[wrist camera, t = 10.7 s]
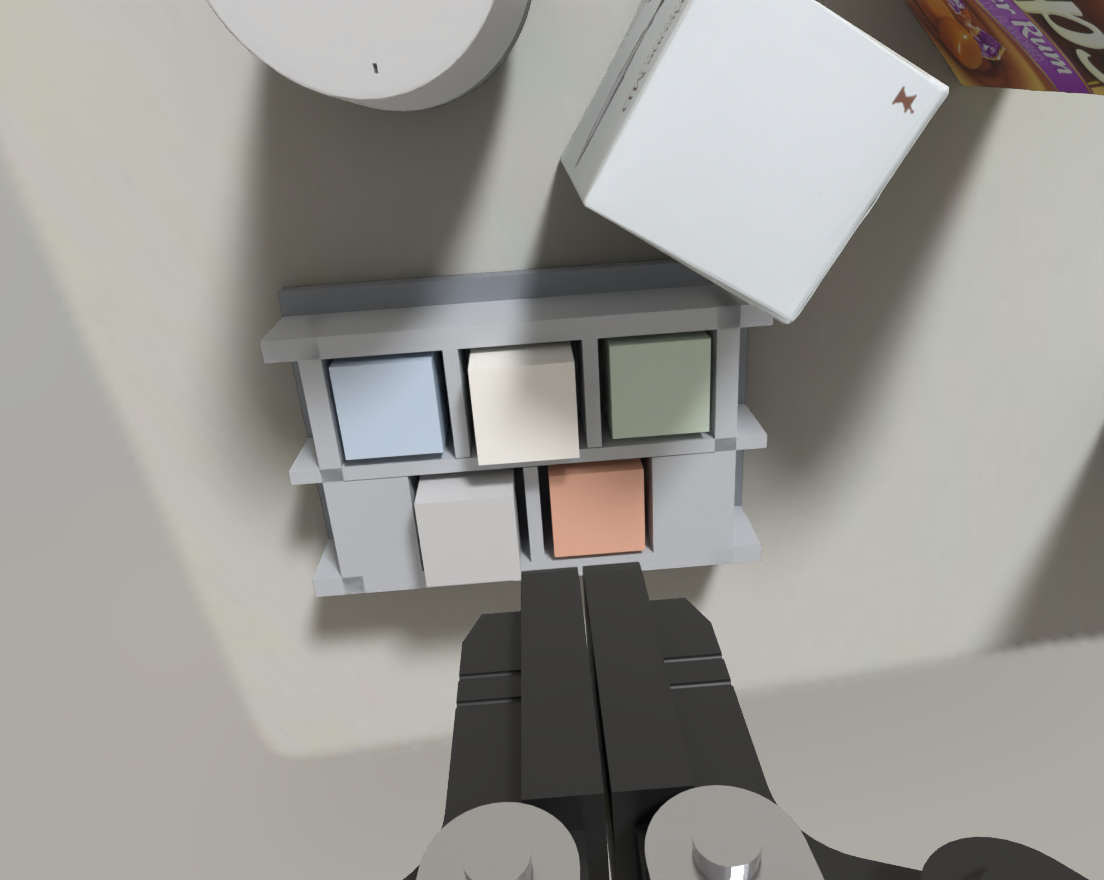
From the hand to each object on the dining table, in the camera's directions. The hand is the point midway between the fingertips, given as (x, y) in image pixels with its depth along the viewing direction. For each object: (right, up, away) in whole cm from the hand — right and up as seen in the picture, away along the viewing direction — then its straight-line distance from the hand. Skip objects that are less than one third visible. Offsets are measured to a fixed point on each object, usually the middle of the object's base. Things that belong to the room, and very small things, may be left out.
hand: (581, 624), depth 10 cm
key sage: (+4, +6, +25) cm, 26 cm away
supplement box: (+5, +15, +22) cm, 28 cm away
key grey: (-4, -1, +26) cm, 26 cm away
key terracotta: (+1, 0, +27) cm, 27 cm away
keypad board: (-1, +3, +27) cm, 28 cm away
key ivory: (-2, +5, +23) cm, 24 cm away
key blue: (-7, +5, +25) cm, 26 cm away
